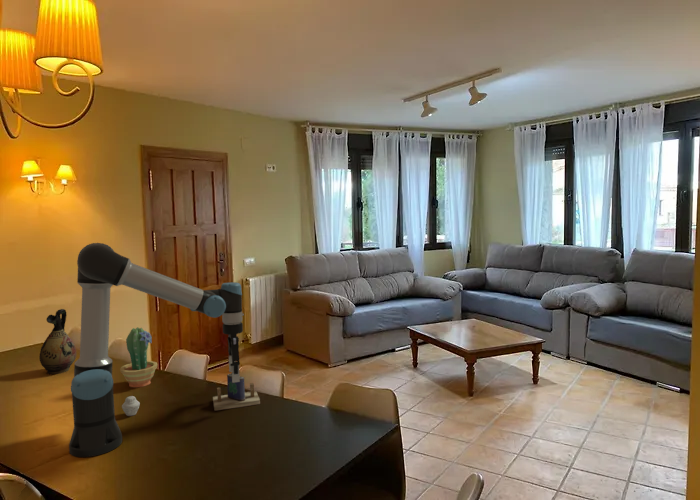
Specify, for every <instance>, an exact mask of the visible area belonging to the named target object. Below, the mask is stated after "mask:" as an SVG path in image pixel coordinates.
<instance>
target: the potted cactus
mask: <svg viewBox="0 0 700 500" xmlns="http://www.w3.org/2000/svg"><path fill="white" fill-rule="evenodd" d="M152 339H153V338H152V334H151V333H150V332H149V331H146V330H144V329H143V328H142V327H136V328H134V327H133V328H132V329H131V330H130V331H129V333H128V335H127V337H126V339H125V344H126V348H127V352H128V354H129V356H130V363H127V364H124V365H122V366H121V367H120V368H119V369H120V373H121V374H122V375H123V377H124V379H125V380H126V381H127V383H128V385H129V387H130V388H142V387H147V386H149V385H150V384H151V383H152V382H151V380H152V378H153V377H154V375H155V371H156V369H157V368H158V362H156V361H152V360H148V357H147V356H148V353H147V351H148V348H149V344H152V342H153V341H152Z"/></svg>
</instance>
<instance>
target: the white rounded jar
mask: <svg viewBox="0 0 700 500" xmlns="http://www.w3.org/2000/svg"><path fill="white" fill-rule="evenodd" d="M140 404H141V403H140V401H138V400H137V398H136V397H135V396H133V395H130V396H127V397H126V398H125V401H124V403H122V405H121V409H122V410H123V413H124V414H125V415H126V416H127V417H133V416H135V415H137V413H138V411H139V408H140Z"/></svg>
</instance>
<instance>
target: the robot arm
mask: <svg viewBox="0 0 700 500" xmlns="http://www.w3.org/2000/svg"><path fill="white" fill-rule="evenodd" d="M76 264H77V279H76V280H77V284H78V285H79V286H80V287H81V309H80V310H81V311H80V312H81V313H80V316H81V317H80V338H79V339H80V342H79V343H80V347H79V358H78V359H76V361H74V367H73V368H74V369H73V378H72V380H71V385H70V392H71V399H72V400H71V401H72V413H73V429H72V434H71V437H70V441H69V444H68V448H69V449H68V450H69V451H68V452H69V454H70V455H71V456H73V457H77V458H89V457H95V456H99V455H103V454H105V453H108V452H111V451H113V450H115V449H117V448H118V447H119V446H120V445H121V444H122V442H123V434H122V431H121V429H120V426H119V424H118V422H117V420H116V414H115V398H114V379H113V359H112V358H110V356H109V335H110V310H111V307H110V306H111V288H112V287H113V286H116V287H119V286H121V285H122V286H125V287H128V288H131V289H133V290H137V291H140V292H142V293H145V294H147V295H151V296H153V297H156V298H158V299H162V300H164V301H168V302H171V303H174V304H175V305H180V306H182V307H185V308H187V309H189V310H190V311H191V312H198V313H200V314H201V313H202V314H204V315H206V316H207V317H210V318H214V319H215V318H219V317H222V321H221V322H222V323H223V324H222V333H223V334H224V335H228V336H227V345H228V346H227V348H228V349H227V352H228V372H229V373H232V383H234V382H240V377H241V375H240V365H241V362H240V352H239V351H240V350H239V349H240V345H239V344H240V343H239V342H240V338H239V336H237V335H238V334H241V333H243V332H244V331H243V330H244V327H243V326H244V324H243V316H244V315H245V314H244V312H243V293H242V284H241V283H239V282H235V281H234V282H223V283H222V284H221V287H220V288H217V289H201V288H199V287H196V286H194V285H192V284H191V285H190V284H188V283H185V282H183V281H180V280H178V279H176V278H173V277H170V276H167V275H165V274H162V273H159V272H156V271H154V270H152V269H148V268H145V267H143V266H140V265H138V264H136V263H133V262H132V260H131V259H130V258H128V257H126V256H123V255H121V254H119V253H117V252H116V251H114V249H113V248H112V247H111V246H109V245H108V244H106V243H101V242H92V243H88V244H87V245H85V246H83V247H82V248H81V250H80V251H79V252H78V254H77V261H76Z"/></svg>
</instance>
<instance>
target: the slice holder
mask: <svg viewBox="0 0 700 500" xmlns="http://www.w3.org/2000/svg"><path fill="white" fill-rule="evenodd" d="M249 387H250V388H249V390H250V391H247V392H246V391H245V400H244V401H237V400H234V399H230V398H228V394H224V395H223V394H222V389H221V386H218V387H216V389H217V392H216V393H217V395H215V396H212V401H213V402H212V403H213V409H214V412H215V411H221V410H228V409H229V410H230V409H236V408H243V407H248V406H255V405H257V406H258V405H260V404H261V398H260V396H259V395H258V392H257V390H255V385H254V382H250V383H249Z"/></svg>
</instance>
